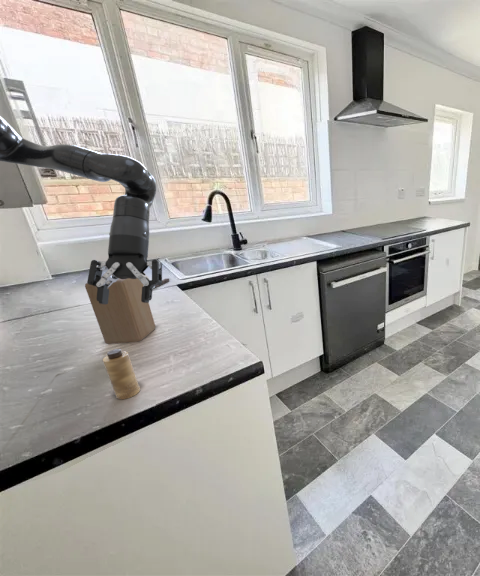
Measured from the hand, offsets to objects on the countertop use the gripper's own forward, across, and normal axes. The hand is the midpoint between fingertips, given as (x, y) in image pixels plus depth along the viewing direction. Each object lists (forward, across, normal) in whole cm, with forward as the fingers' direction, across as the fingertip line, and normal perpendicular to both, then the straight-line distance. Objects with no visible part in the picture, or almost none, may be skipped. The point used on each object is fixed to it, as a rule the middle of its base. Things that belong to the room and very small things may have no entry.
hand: (124, 303), depth 73 cm
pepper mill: (+21, -1, -3) cm, 21 cm away
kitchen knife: (-17, +29, -74) cm, 81 cm away
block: (+6, +13, -31) cm, 34 cm away
